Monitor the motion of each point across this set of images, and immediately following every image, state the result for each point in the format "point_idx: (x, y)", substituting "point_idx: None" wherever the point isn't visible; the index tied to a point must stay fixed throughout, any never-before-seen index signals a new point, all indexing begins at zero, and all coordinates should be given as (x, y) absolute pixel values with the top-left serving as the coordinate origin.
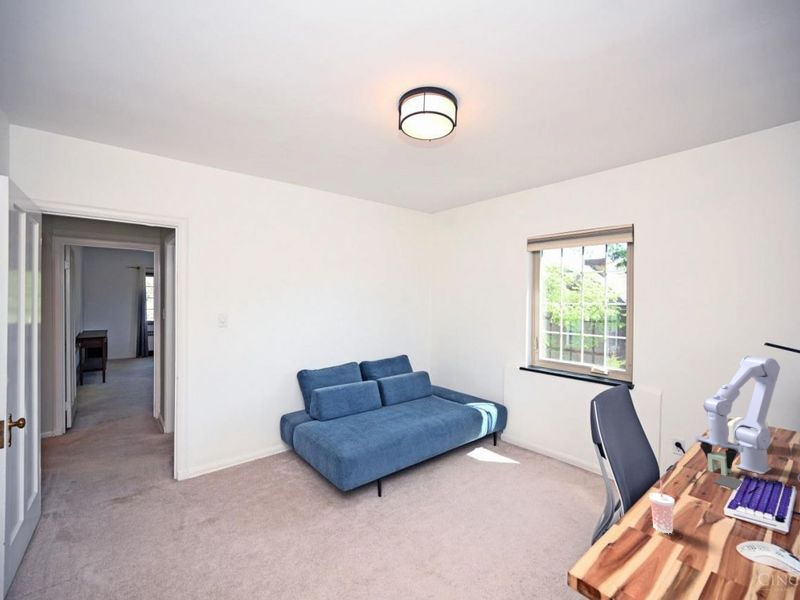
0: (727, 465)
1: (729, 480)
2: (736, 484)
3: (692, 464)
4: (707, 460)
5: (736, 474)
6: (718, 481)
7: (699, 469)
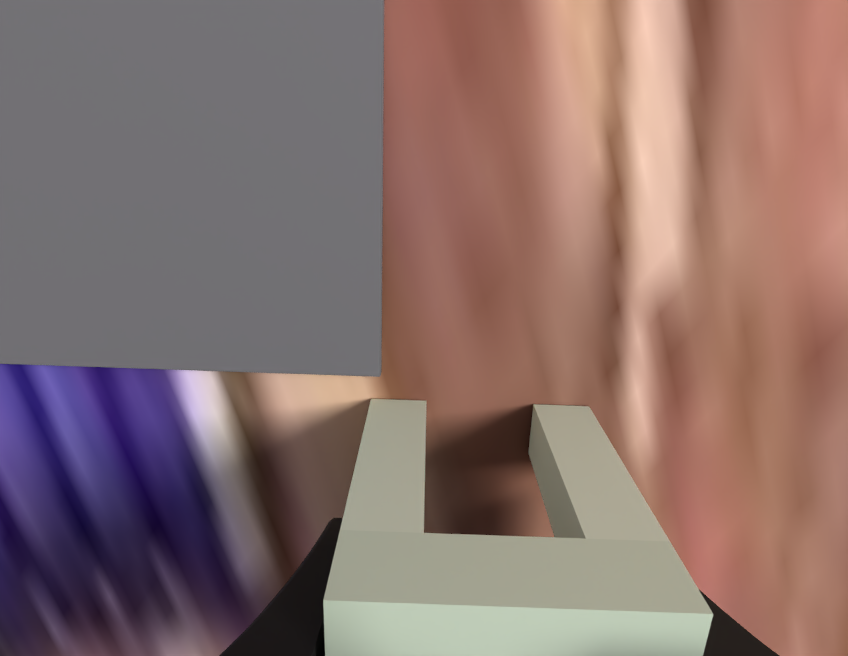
0: None
1: (256, 220)
2: (128, 125)
3: (805, 489)
4: None
5: None
6: (336, 9)
7: (692, 368)
